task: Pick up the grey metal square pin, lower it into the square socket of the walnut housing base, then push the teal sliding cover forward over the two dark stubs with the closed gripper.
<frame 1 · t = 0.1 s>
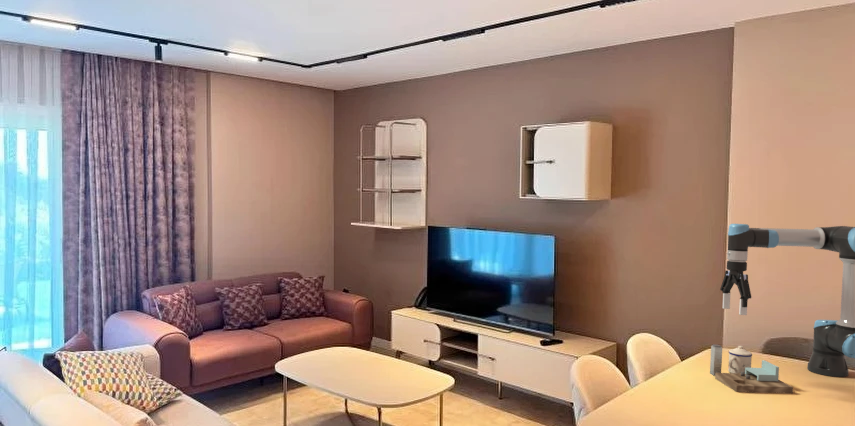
hand: (734, 311, 253), 28 cm above the table, fingers open, 13 cm apart
teacup with lid: (737, 373, 262), on the table
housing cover: (761, 370, 247), point 6 cm above the table, slide at 0.0 cm
pin: (715, 374, 258), on the table
housing base: (752, 385, 244), on the table
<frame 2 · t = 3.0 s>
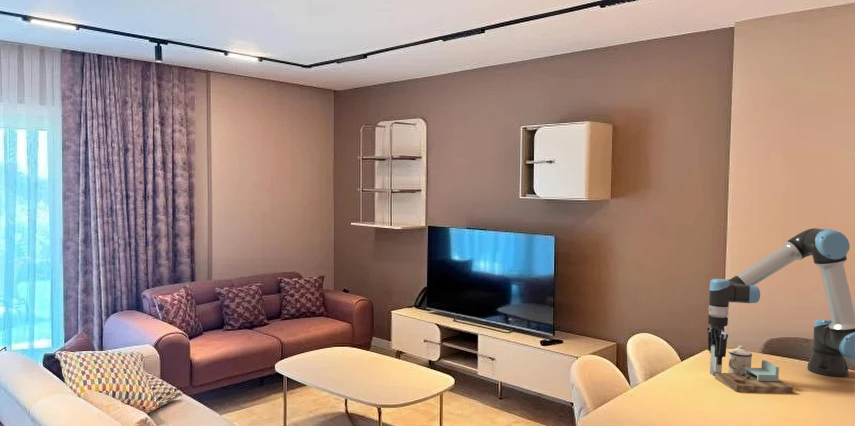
hand: (715, 370, 258), 2 cm above the table, fingers closed on pin, 3 cm apart
pin: (715, 374, 258), on the table, touching gripper
everything else where it was.
when the fingers open (3 cm above the table, at t = 7.7 s): pin drops 2 cm, resting in housing base.
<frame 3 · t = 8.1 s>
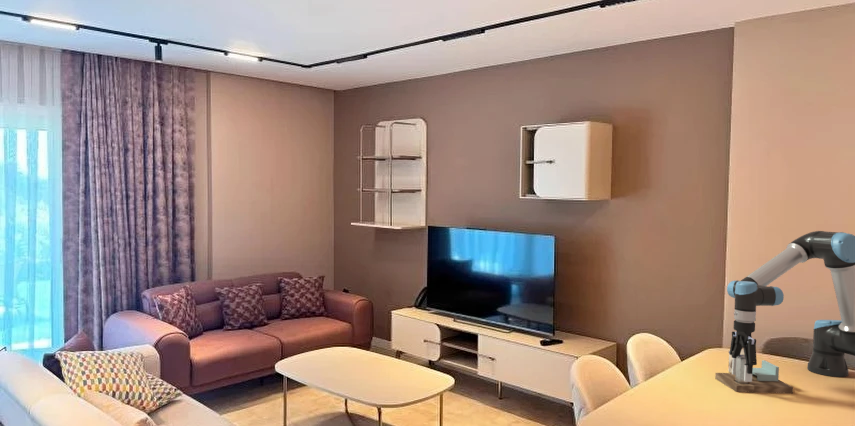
hand: (741, 377, 240), 4 cm above the table, fingers open, 8 cm apart
pin: (741, 388, 240), resting in housing base
everything else where it was.
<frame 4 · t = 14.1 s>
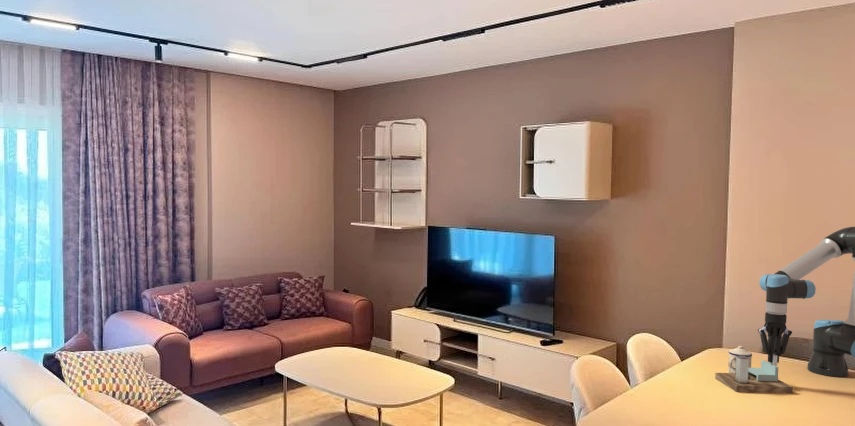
hand: (772, 370, 247), 6 cm above the table, fingers closed
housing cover: (761, 370, 247), point 6 cm above the table, slide at 0.2 cm, touching gripper
everything else where it was.
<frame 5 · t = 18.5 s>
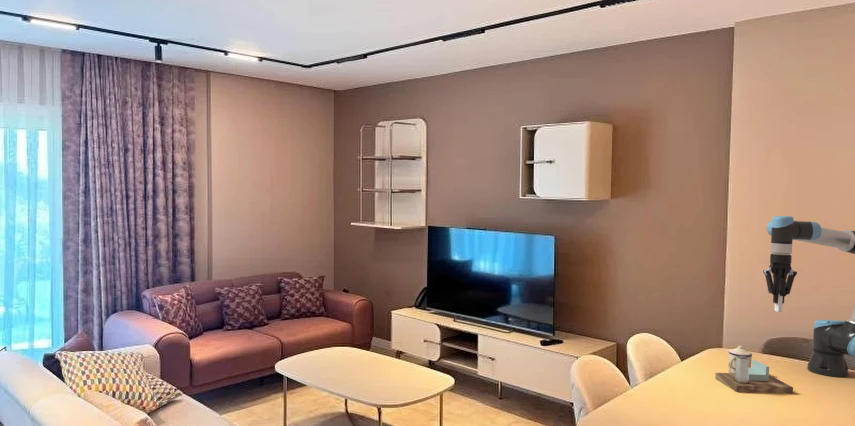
hand: (778, 311, 249), 29 cm above the table, fingers closed
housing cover: (752, 370, 247), point 6 cm above the table, slide at 3.9 cm
everything else where it was.
at the end: pin 0.0 cm from the target spot on the housing base, point 0.0 cm above the housing base's base; pin tilted 0°; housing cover slide at 3.9 cm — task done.
